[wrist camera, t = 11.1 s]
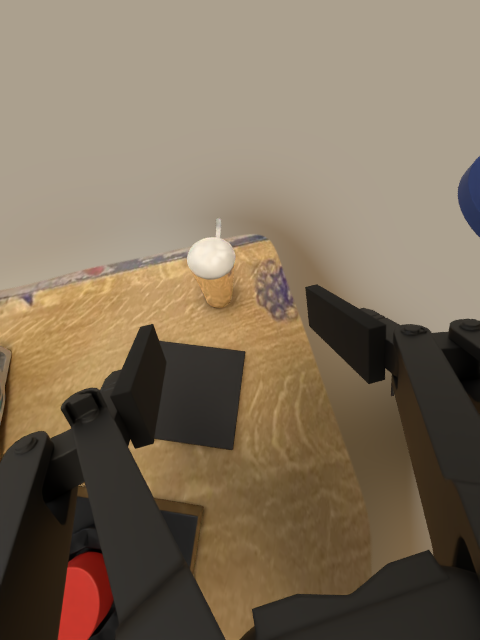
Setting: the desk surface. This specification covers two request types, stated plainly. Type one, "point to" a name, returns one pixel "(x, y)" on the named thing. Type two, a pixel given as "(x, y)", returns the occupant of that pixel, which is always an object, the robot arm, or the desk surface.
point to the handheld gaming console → (3, 375)
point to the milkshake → (213, 268)
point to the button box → (85, 539)
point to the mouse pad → (200, 395)
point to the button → (85, 597)
